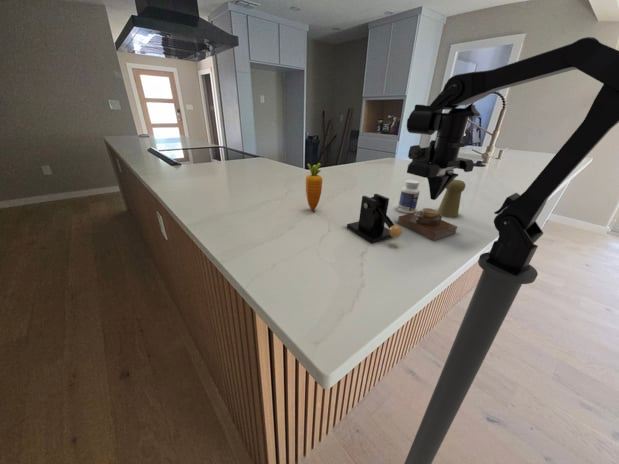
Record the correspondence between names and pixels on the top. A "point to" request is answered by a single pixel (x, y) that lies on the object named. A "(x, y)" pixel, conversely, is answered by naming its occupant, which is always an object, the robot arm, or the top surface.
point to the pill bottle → (409, 197)
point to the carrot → (313, 186)
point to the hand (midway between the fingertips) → (433, 199)
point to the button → (429, 213)
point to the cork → (451, 199)
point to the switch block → (427, 225)
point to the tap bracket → (371, 220)
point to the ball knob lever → (387, 220)
